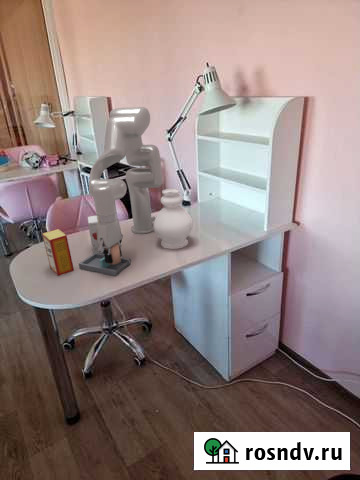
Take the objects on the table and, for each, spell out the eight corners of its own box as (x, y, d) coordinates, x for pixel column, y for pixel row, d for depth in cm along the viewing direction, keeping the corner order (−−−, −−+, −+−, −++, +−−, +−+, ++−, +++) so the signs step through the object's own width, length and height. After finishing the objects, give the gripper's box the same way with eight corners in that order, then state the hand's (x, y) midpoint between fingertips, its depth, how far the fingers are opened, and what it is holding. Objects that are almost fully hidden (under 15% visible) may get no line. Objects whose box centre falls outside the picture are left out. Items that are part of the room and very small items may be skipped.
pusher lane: (96, 257, 146) (95, 252, 145) (130, 264, 139) (129, 259, 138) (79, 268, 138) (78, 263, 137) (115, 276, 130) (114, 271, 129)
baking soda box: (50, 267, 140) (41, 232, 134) (65, 262, 144) (57, 228, 137) (58, 276, 133) (49, 239, 127) (74, 270, 137) (66, 234, 130)
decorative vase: (189, 252, 146) (187, 197, 136) (150, 250, 149) (145, 196, 139) (196, 235, 162) (194, 185, 151) (160, 234, 165) (156, 185, 155)
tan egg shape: (112, 257, 138) (110, 241, 135) (123, 259, 136) (121, 243, 133) (104, 263, 134) (101, 247, 131) (115, 265, 132) (113, 249, 129)
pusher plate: (113, 260, 141) (111, 251, 139) (115, 261, 140) (113, 251, 139) (101, 270, 134) (99, 260, 132) (103, 270, 134) (101, 260, 132)
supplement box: (93, 254, 150) (87, 223, 144) (92, 246, 158) (87, 216, 152) (113, 250, 152) (108, 219, 146) (111, 243, 160) (107, 213, 154)
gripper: (112, 208, 136) (118, 249, 143) (84, 224, 122) (92, 267, 129) (128, 210, 133) (133, 251, 140) (101, 226, 119) (108, 271, 126)
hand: (113, 258), depth 135 cm, fingers closed on tan egg shape, 5 cm apart
